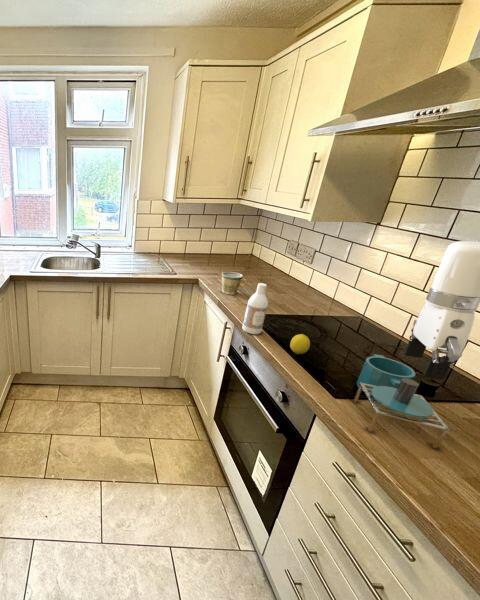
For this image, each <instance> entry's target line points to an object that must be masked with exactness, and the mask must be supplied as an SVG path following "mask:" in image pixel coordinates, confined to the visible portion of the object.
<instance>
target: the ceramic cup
mask: <svg viewBox="0 0 480 600" xmlns="http://www.w3.org/2000/svg"><path fill="white" fill-rule="evenodd" d="M243 277H244V276H243V274H241V273H240V272H239V273H238V272H235V271H223V272H222V273H221V292H222V293H223V294H225V295H233V296H234V295H236V294H237V291H238V289H239V288H241V287H242V286H244V285H247V283H248V279H247V278H243ZM242 281H245V283H243V284H241V283H242ZM240 284H241V285H240Z"/></svg>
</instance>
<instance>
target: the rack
mask: <svg viewBox="0 0 480 600" xmlns="http://www.w3.org/2000/svg"><path fill="white" fill-rule="evenodd" d="M359 384H360V386H359V387H357V391H356V393H355V395H354V398H353V400H352V401H353V403H358V401H359V398H360V396H361V393H362V392H363V391H364V392H363V393H364V395H365V397H366V398H367V400H368V402H369V403H370V405H371V407H372V408H373V410H374V412H375V413H374V416H373V418H372V421H371V423H370V425H369V427H368V428H367V431H368V432H371V433H372V432H373V431H374V429H375V427H376V424H377V422H378V420H379V418H380V416H384V417H388V418H392V419H397V420H401V421H405V422H409V423H413V424H417V425H422V426H426V427H431V428H435V429H439V430H440V431H439V433H438V435H437V437H436V438H435V440H434V442H433V444H432V445H431V447H432V448H433V449H438V448H439V446H440V444H441V443H442V441H443V439H444V437H445V436H446V434H447V432H450V431H451V429H450V428H449V427H448V425H447V424H446V423H445V422H444V420H443V419H442V418H441V417H440V416H439V414H438V413H437V412H436V411H435V410H434V409H433V414H432V416H430V417H427V418H419V417H413V416H408V415H405V414H402V413H399V412H397V411H394V410H392V409H390V408H384V407H385V406H384V405H383V404H381V403H380V402H378V401H377V400H376V399H375V398H374V397H372V396H370V395H372V393H369V392H368V391H367V390H369V391H372V389H368V388H366V387H365V386H367V387H371V388H374V387H377V386H374V385H370V384H365V383H359ZM362 389H363V391H362ZM414 395H415V396H417V397H419V398H421V399H422V400H424V401H425V402H427V403H428V401H427V400H426V399H425V398H424V397H423V395H421V394H416V393H415V394H414ZM378 405H379V406H378ZM380 406H383V407H380ZM380 410H381V411H380ZM384 411H385V412H384ZM393 413H394V414H393ZM396 414H398V415H396ZM401 415H403V416H401ZM405 416H407V417H405ZM409 417H411V418H409ZM414 418H415V419H414ZM432 418H434V419H432ZM418 419H419V420H418ZM422 420H424V421H422ZM426 421H428V422H426ZM430 422H433V423H430ZM434 423H436V424H434Z"/></svg>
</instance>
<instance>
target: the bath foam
mask: <svg viewBox="0 0 480 600" xmlns="http://www.w3.org/2000/svg"><path fill="white" fill-rule="evenodd" d="M267 287H268V286H267V283H262V282H258V284H257V287H256V291H255V292H254V293H253V294H252V295H251V296H250V298H249V299H248V301H247V305H246V309H245V313H244V317H243V323H242V327H241V328H242V331H243V332H245V333H247V334H251V335H260V334H261V333H262V331H263V326H264V322H265V319H266V315H267V311H268V306H269V302H268V301H269V300H268V298H267V296H266V291H267Z"/></svg>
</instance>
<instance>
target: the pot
mask: <svg viewBox="0 0 480 600" xmlns="http://www.w3.org/2000/svg"><path fill="white" fill-rule="evenodd" d="M415 376H416V371H415V370H414V369H413V368H412V367H410V366H408V365H406V364H405V363H403V362H400V361H398V360H394V359H392V358H389V357H385V356H384V355H381V354H376V353H374V354H372V355H371V356H368V357H366V359H365V361H364V363H363V365H362V368H361V370H360V373H359V375H358V378H357V380H356V386H357V388H359V386H360V384H359V383H365V384H370V385H374V386H388V387H393V388H398V386H399V384H400V382H401V380H402V379H403V378H406V379H410V380H413V381H414V379H415V378H416V377H415ZM365 387H366V388H368V389H373V388H371V387H367V386H365ZM367 391H368V392H369V393H371V391H369V390H367ZM361 392H363V393H364V391H363V389H362V391H361ZM370 396H371V397H373V395H370Z"/></svg>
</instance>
